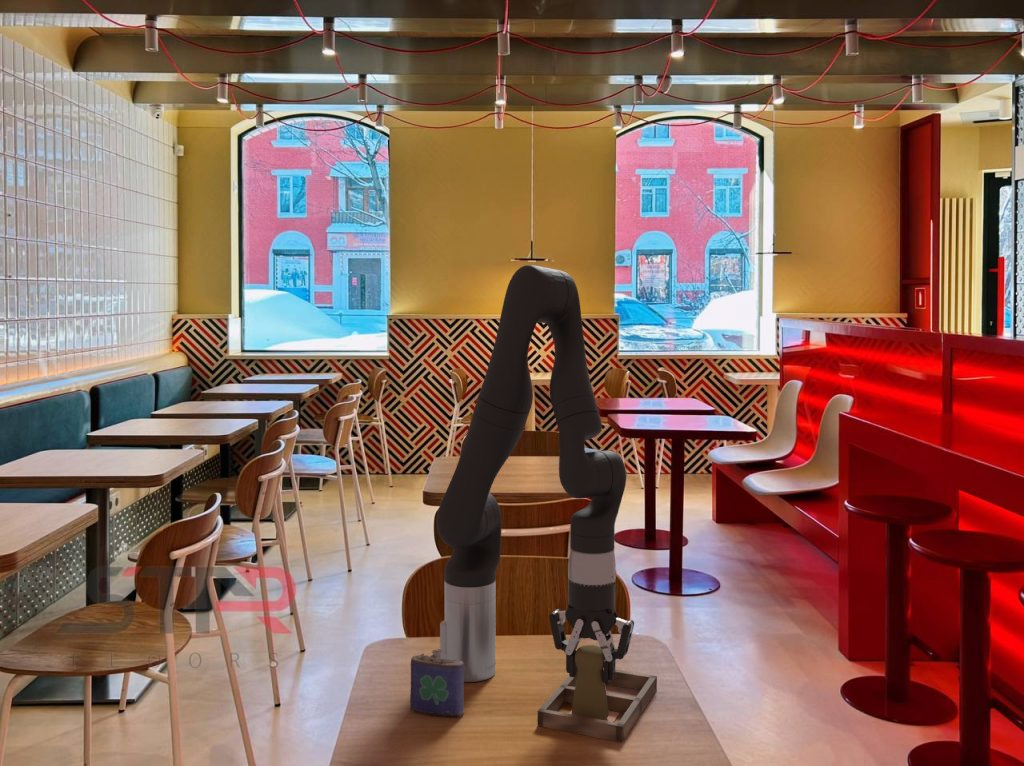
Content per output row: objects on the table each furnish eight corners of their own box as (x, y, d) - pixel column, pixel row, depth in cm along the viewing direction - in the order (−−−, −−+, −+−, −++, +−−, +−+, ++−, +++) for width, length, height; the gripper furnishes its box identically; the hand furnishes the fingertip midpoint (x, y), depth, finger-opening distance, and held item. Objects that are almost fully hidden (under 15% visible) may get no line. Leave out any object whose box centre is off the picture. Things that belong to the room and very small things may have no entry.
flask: (466, 712, 158) (465, 649, 157) (460, 720, 155) (460, 656, 154) (413, 705, 160) (413, 643, 159) (407, 713, 158) (406, 650, 157)
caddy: (537, 725, 153) (537, 710, 153) (580, 677, 172) (580, 663, 172) (622, 742, 148) (622, 726, 147) (656, 690, 167) (656, 676, 167)
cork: (607, 723, 152) (607, 656, 151) (569, 719, 153) (569, 653, 152) (610, 707, 158) (611, 642, 157) (574, 703, 159) (574, 639, 158)
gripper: (541, 577, 152) (540, 680, 154) (628, 588, 147) (627, 695, 149) (557, 564, 159) (556, 663, 161) (641, 574, 154) (640, 677, 155)
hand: (590, 678), depth 155 cm, fingers closed on cork, 5 cm apart
